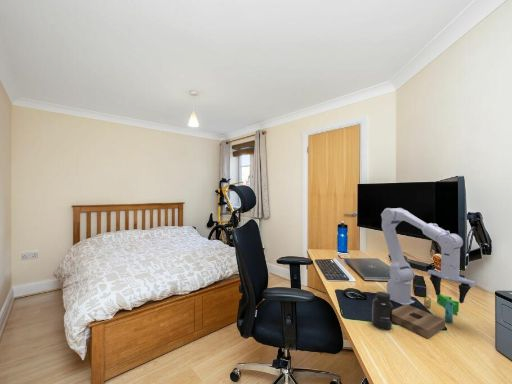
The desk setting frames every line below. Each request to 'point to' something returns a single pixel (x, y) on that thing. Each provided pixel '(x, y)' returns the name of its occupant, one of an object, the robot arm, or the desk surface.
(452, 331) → the desk surface
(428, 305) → the short pin
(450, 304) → the long pin
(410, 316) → the bored board
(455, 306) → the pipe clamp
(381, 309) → the supplement bottle
